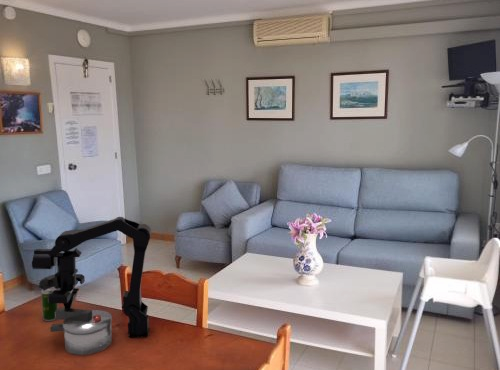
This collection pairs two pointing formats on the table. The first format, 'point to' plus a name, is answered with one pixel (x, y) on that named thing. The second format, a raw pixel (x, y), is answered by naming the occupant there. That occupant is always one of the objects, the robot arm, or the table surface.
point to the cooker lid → (83, 320)
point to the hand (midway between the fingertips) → (67, 311)
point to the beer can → (48, 305)
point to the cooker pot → (85, 340)
